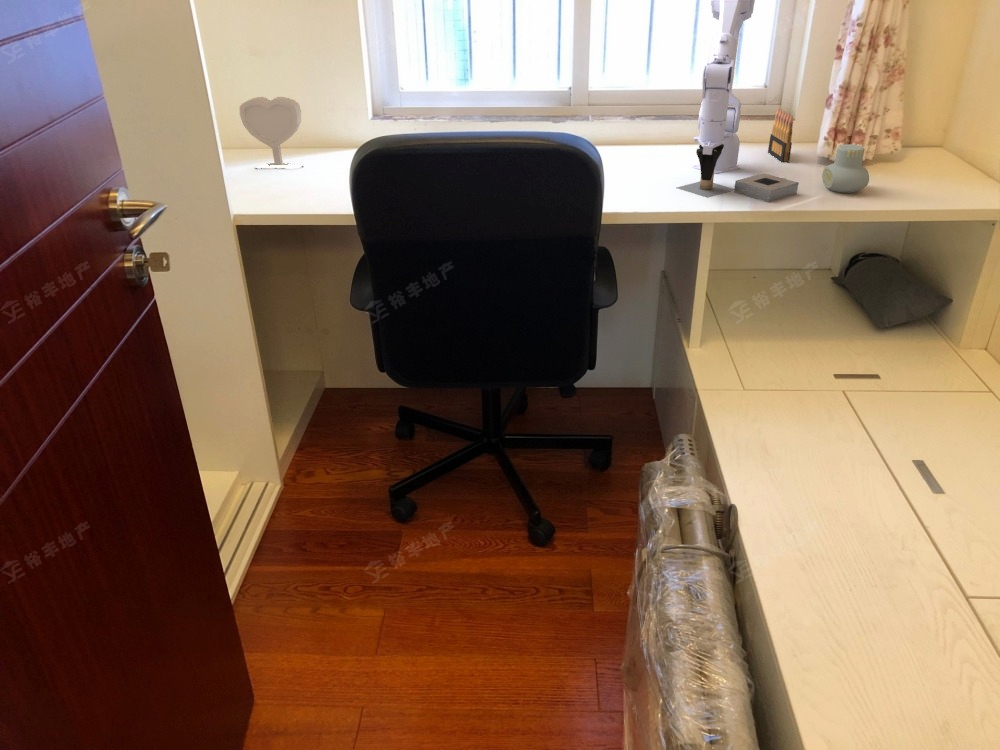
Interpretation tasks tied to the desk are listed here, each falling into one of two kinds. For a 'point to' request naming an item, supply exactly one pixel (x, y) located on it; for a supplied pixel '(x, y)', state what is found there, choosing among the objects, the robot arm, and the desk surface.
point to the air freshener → (846, 170)
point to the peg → (707, 183)
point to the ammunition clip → (781, 136)
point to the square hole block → (766, 187)
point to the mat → (696, 189)
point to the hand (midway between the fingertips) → (707, 177)
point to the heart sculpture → (271, 121)
